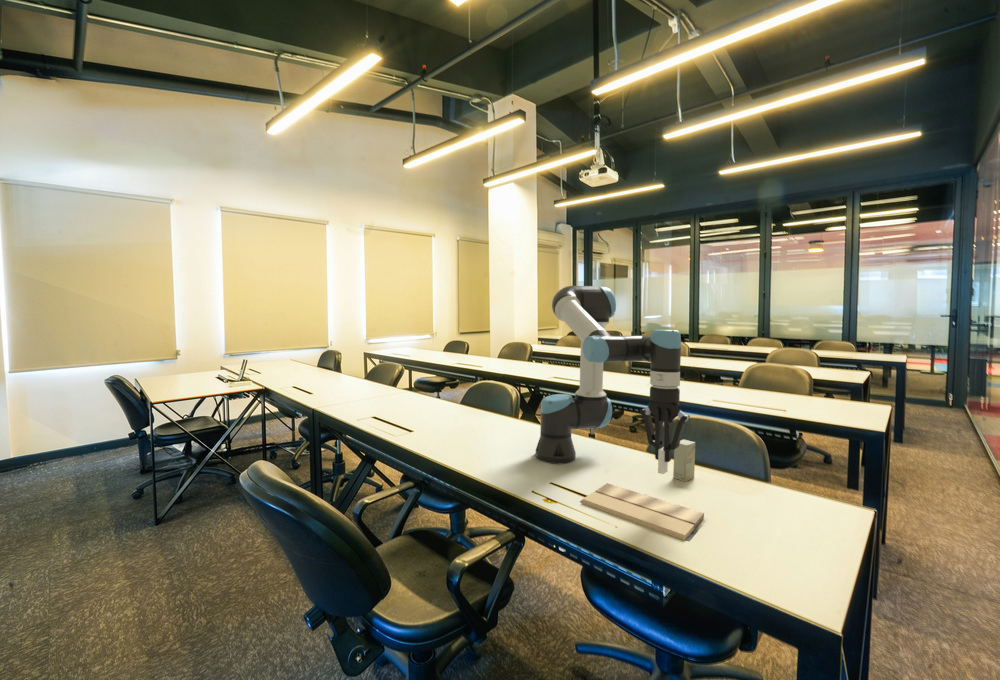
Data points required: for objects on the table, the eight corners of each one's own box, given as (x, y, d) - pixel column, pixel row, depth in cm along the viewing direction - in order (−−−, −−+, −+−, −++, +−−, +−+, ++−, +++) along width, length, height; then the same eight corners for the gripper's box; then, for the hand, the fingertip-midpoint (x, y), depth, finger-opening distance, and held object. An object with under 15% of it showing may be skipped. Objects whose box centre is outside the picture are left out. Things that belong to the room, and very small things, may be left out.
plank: (595, 494, 124) (595, 490, 124) (607, 486, 129) (607, 483, 129) (695, 528, 105) (695, 523, 105) (704, 517, 110) (704, 513, 110)
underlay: (579, 505, 119) (579, 497, 119) (604, 489, 130) (605, 482, 130) (689, 545, 99) (689, 536, 99) (708, 522, 110) (708, 514, 110)
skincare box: (685, 482, 136) (686, 445, 135) (672, 477, 140) (673, 442, 139) (694, 477, 140) (696, 441, 139) (681, 473, 144) (683, 438, 143)
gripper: (635, 385, 115) (633, 469, 116) (684, 391, 106) (682, 482, 107) (647, 382, 120) (645, 463, 122) (694, 387, 112) (692, 474, 113)
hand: (662, 472), depth 114 cm, fingers closed
